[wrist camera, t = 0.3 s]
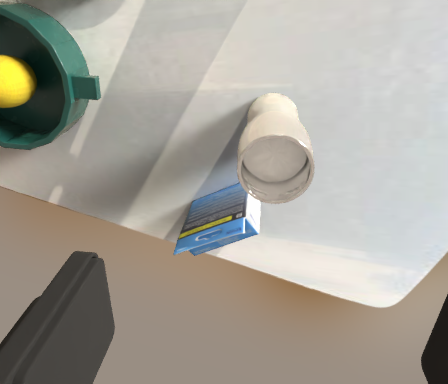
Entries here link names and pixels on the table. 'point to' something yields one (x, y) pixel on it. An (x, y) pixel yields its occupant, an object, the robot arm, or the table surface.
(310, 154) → the beer glass
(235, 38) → the table surface
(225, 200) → the label tape box
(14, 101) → the lemon
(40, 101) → the pot
